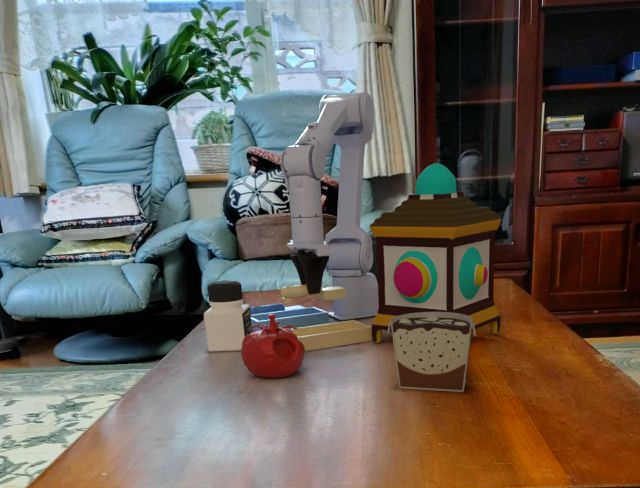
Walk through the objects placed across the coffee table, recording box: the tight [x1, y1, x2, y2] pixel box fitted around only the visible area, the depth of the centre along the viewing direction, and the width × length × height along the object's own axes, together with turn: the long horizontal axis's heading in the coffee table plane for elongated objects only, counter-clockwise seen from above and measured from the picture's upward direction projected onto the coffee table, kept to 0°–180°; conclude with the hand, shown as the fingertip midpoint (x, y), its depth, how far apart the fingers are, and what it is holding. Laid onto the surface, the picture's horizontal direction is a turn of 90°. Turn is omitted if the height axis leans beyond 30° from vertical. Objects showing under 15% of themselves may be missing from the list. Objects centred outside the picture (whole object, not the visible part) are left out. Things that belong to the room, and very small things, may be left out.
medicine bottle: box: [203, 279, 253, 353], centre depth 124 cm, size 7×7×12 cm
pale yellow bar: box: [280, 284, 346, 305], centre depth 128 cm, size 12×4×3 cm, turn 115°
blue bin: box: [251, 306, 330, 333], centre depth 140 cm, size 15×8×3 cm, turn 116°
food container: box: [387, 312, 477, 393], centre depth 97 cm, size 12×6×10 cm, turn 71°
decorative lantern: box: [369, 162, 502, 344], centre depth 120 cm, size 20×20×30 cm
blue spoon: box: [250, 303, 306, 315], centre depth 149 cm, size 12×4×3 cm, turn 116°
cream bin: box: [290, 319, 373, 352], centre depth 125 cm, size 15×8×3 cm, turn 116°
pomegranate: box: [240, 314, 306, 379], centre depth 106 cm, size 10×10×9 cm
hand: (311, 292), depth 128 cm, fingers closed on pale yellow bar, 2 cm apart
